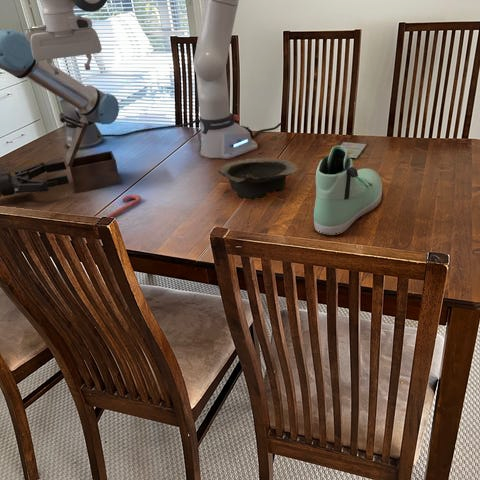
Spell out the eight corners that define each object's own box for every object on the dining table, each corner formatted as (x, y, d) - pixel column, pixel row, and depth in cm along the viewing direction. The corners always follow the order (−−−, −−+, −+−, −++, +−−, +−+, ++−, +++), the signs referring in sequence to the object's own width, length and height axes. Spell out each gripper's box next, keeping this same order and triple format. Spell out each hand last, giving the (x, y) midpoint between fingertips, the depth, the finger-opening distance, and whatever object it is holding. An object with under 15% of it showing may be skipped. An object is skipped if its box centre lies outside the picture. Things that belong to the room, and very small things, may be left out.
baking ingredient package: (332, 154, 173) (343, 141, 184) (332, 155, 173) (343, 142, 184) (356, 157, 169) (366, 143, 180) (356, 158, 169) (366, 144, 181)
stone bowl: (243, 213, 140) (240, 183, 136) (209, 189, 160) (205, 162, 156) (313, 190, 149) (312, 161, 144) (272, 170, 169) (270, 144, 165)
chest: (116, 173, 173) (111, 150, 169) (120, 183, 166) (115, 159, 161) (74, 182, 169) (68, 159, 165) (76, 192, 162) (69, 168, 157)
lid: (85, 116, 160) (61, 106, 156) (88, 123, 153) (63, 113, 149) (69, 157, 165) (45, 149, 161) (71, 167, 157) (46, 158, 153)
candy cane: (96, 216, 146) (95, 211, 145) (131, 196, 156) (131, 192, 155) (109, 220, 143) (108, 216, 142) (145, 200, 153) (144, 196, 152)
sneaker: (389, 187, 148) (396, 123, 138) (356, 242, 123) (361, 168, 112) (346, 181, 154) (350, 119, 144) (306, 232, 129) (307, 161, 118)
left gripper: (4, 181, 168) (66, 169, 174) (1, 211, 148) (72, 196, 154) (-3, 161, 164) (61, 149, 170) (-7, 189, 144) (66, 174, 150)
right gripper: (23, 28, 136) (37, 78, 143) (96, 20, 141) (106, 69, 148) (23, 26, 141) (37, 74, 148) (94, 18, 146) (104, 65, 154)
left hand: (66, 171), depth 162 cm, fingers open, 13 cm apart
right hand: (72, 71), depth 148 cm, fingers open, 8 cm apart
